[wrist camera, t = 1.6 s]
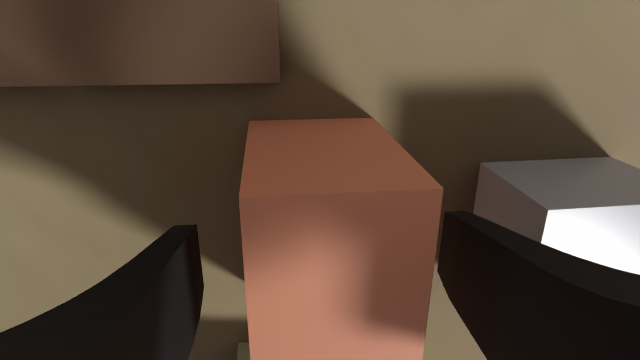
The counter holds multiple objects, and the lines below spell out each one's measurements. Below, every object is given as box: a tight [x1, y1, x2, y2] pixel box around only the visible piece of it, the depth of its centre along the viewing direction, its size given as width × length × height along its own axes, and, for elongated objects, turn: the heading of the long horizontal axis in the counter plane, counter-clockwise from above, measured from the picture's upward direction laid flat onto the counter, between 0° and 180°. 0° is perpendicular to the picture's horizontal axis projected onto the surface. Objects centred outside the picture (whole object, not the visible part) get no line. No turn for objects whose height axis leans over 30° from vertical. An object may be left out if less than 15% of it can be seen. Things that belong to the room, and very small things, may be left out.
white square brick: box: [473, 157, 640, 275], centre depth 14 cm, size 5×5×4 cm
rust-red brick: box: [239, 118, 444, 360], centre depth 12 cm, size 4×6×6 cm, turn 0°
